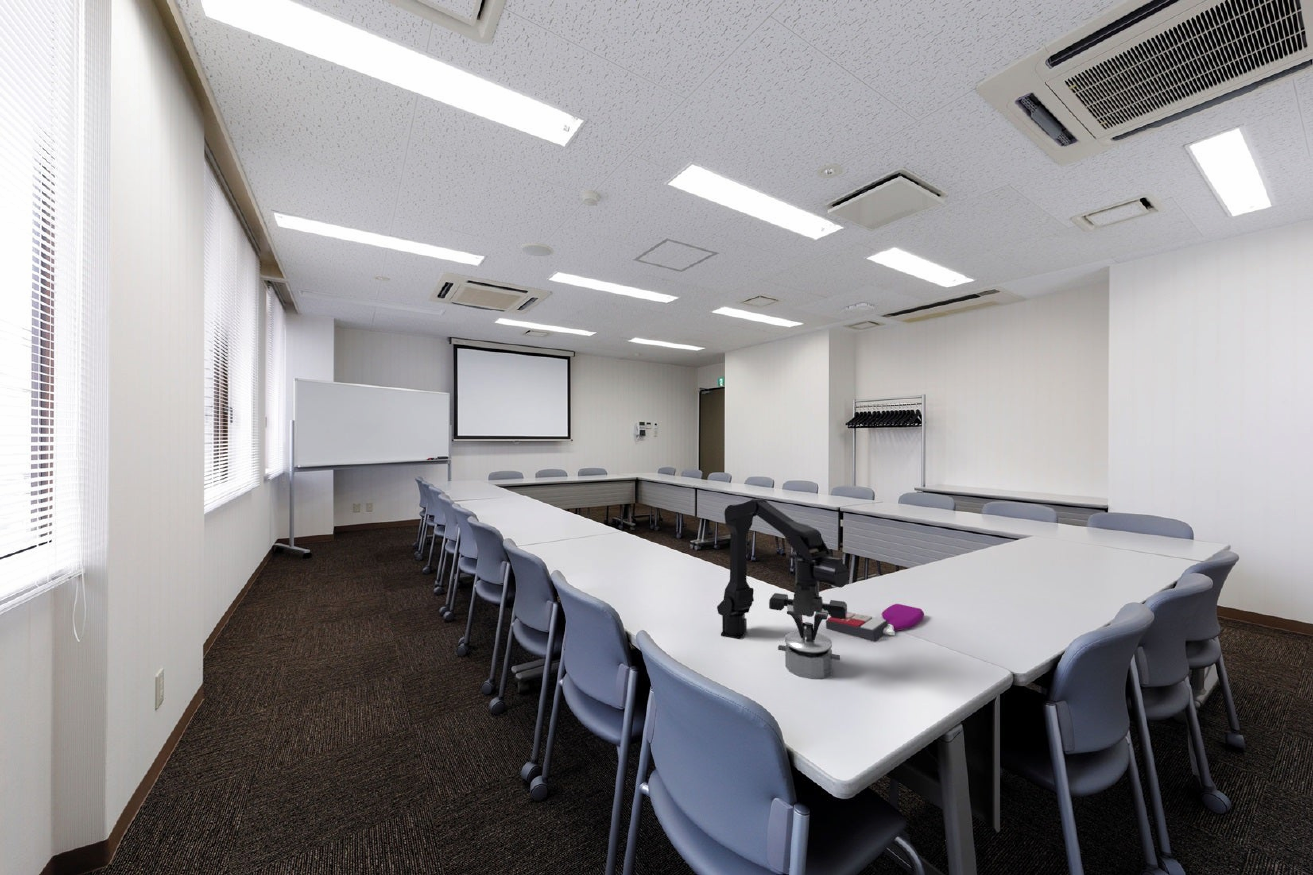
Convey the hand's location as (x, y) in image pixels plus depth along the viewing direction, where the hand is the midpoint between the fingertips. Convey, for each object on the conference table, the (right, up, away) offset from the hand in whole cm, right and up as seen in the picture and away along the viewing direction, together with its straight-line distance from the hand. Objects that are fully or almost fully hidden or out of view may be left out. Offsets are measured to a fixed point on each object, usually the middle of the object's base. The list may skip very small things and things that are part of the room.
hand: (808, 638), depth 124 cm
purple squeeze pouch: (+37, -8, +29) cm, 48 cm away
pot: (0, -8, 0) cm, 8 cm away
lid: (0, -2, 0) cm, 2 cm away
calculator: (+23, -8, +25) cm, 35 cm away
